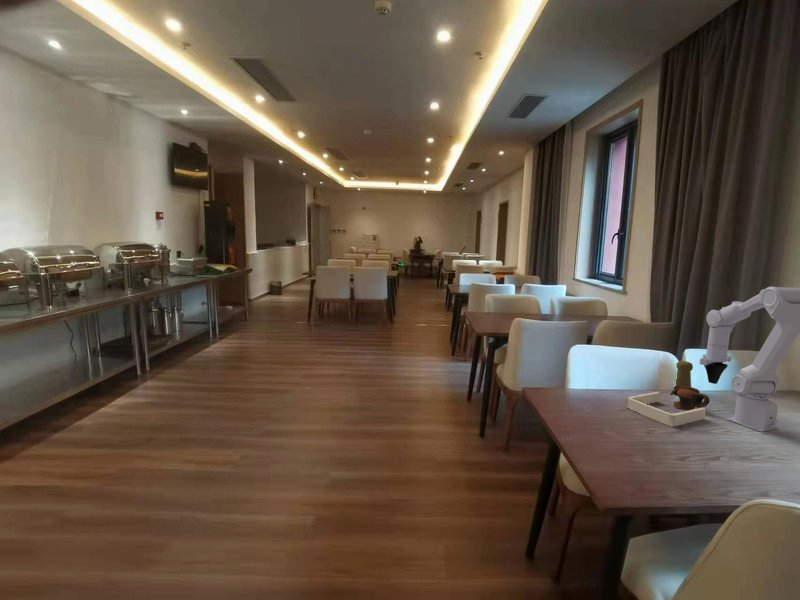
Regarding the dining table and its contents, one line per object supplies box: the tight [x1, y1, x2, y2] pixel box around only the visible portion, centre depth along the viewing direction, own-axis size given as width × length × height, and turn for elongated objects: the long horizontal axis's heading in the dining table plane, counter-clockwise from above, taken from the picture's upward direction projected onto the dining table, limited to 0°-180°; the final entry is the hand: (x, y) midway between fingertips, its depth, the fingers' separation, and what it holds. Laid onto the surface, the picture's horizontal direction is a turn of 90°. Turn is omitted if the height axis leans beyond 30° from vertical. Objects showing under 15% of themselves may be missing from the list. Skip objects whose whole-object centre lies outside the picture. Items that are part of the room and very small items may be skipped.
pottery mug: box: [670, 386, 711, 411], centre depth 141 cm, size 12×10×8 cm
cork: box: [676, 360, 694, 387], centre depth 159 cm, size 6×6×11 cm
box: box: [624, 391, 707, 428], centre depth 136 cm, size 16×16×4 cm
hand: (712, 382), depth 145 cm, fingers closed
